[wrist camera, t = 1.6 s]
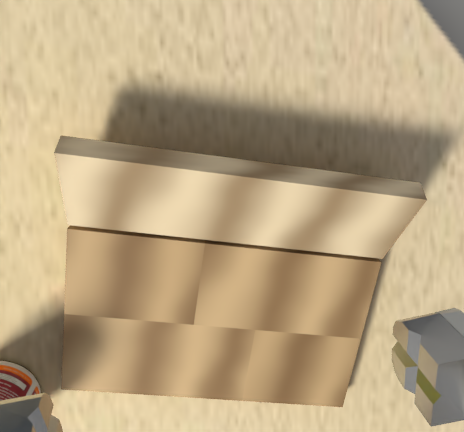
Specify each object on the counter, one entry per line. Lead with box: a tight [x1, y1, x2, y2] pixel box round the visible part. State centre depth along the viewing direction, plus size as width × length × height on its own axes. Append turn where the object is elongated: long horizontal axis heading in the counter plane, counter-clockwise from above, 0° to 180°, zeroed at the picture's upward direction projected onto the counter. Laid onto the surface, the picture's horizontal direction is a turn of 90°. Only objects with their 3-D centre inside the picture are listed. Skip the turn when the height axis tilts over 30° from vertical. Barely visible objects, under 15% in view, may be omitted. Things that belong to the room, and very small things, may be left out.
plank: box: [54, 136, 427, 259], centre depth 31 cm, size 24×7×2 cm
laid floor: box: [61, 225, 381, 407], centre depth 36 cm, size 24×14×2 cm, turn 82°
